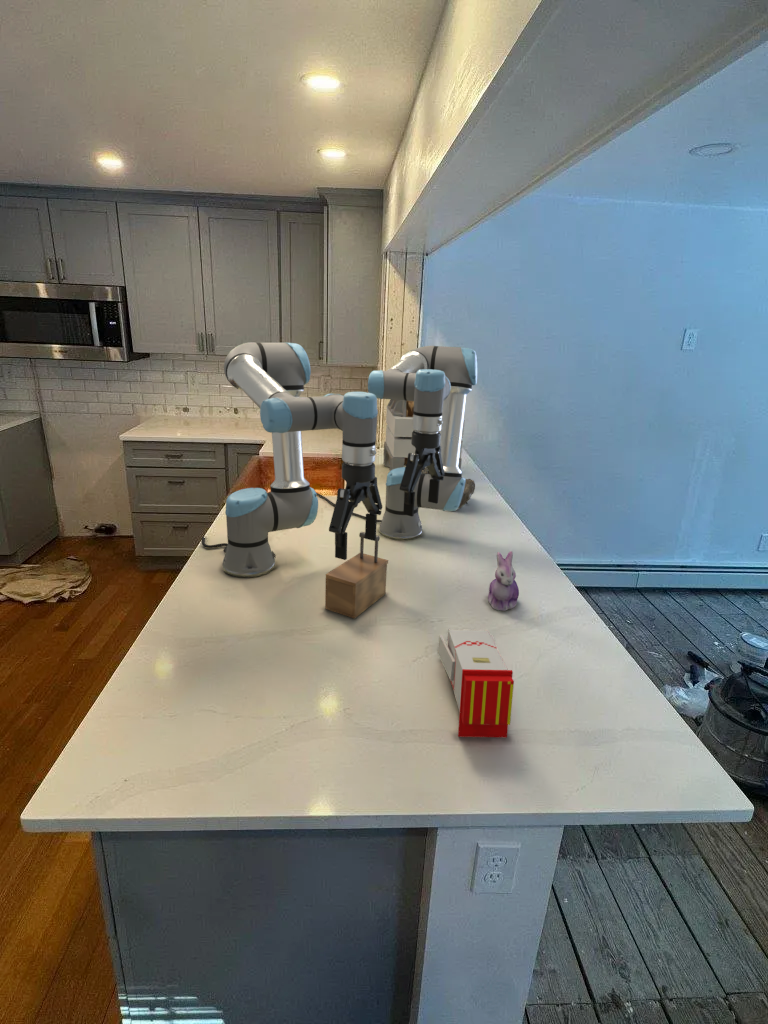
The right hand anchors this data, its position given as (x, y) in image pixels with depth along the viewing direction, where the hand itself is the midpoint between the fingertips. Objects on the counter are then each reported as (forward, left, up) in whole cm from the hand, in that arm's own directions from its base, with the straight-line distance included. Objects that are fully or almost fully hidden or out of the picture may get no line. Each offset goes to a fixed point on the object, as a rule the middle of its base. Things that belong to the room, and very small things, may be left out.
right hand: (421, 508), depth 154 cm
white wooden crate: (-86, +84, -24) cm, 123 cm away
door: (-4, -18, -15) cm, 24 cm away
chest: (-4, -19, -24) cm, 31 cm away
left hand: (+5, -26, -4) cm, 27 cm away
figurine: (+21, +13, -24) cm, 34 cm away
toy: (+41, -23, -24) cm, 53 cm away
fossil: (-44, +66, -24) cm, 83 cm away
